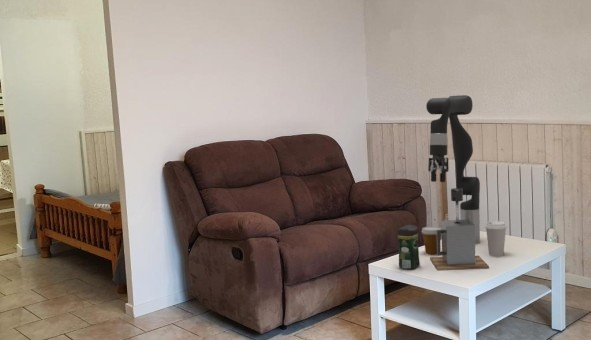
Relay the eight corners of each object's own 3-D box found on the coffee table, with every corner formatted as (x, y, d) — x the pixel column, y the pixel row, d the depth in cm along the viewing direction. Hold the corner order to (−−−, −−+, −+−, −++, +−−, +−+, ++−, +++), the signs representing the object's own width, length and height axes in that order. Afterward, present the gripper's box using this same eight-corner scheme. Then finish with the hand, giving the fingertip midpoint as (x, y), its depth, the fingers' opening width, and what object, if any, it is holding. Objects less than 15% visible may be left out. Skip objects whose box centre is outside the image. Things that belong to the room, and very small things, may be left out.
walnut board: (430, 259, 282) (429, 257, 282) (478, 257, 281) (478, 255, 281) (437, 270, 264) (437, 268, 264) (489, 268, 263) (489, 266, 263)
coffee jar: (405, 263, 278) (404, 222, 276) (422, 265, 273) (420, 224, 271) (395, 268, 270) (394, 227, 268) (412, 270, 266) (411, 228, 264)
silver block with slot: (435, 258, 279) (434, 220, 277) (469, 257, 278) (468, 219, 276) (440, 266, 267) (439, 226, 265) (476, 264, 266) (475, 225, 264)
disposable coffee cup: (443, 255, 287) (442, 230, 286) (422, 255, 289) (421, 230, 288) (442, 250, 297) (441, 226, 295) (422, 250, 299) (421, 226, 297)
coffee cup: (484, 251, 290) (483, 220, 288) (505, 251, 288) (505, 220, 286) (486, 257, 281) (485, 224, 279) (508, 257, 279) (508, 224, 277)
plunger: (446, 231, 275) (445, 188, 273) (465, 231, 275) (464, 187, 273) (450, 236, 267) (448, 190, 265) (469, 235, 267) (468, 190, 264)
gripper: (454, 144, 259) (453, 182, 259) (438, 145, 273) (438, 181, 273) (438, 143, 258) (437, 182, 258) (423, 144, 271) (422, 181, 272)
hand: (437, 181), depth 265 cm, fingers open, 8 cm apart
